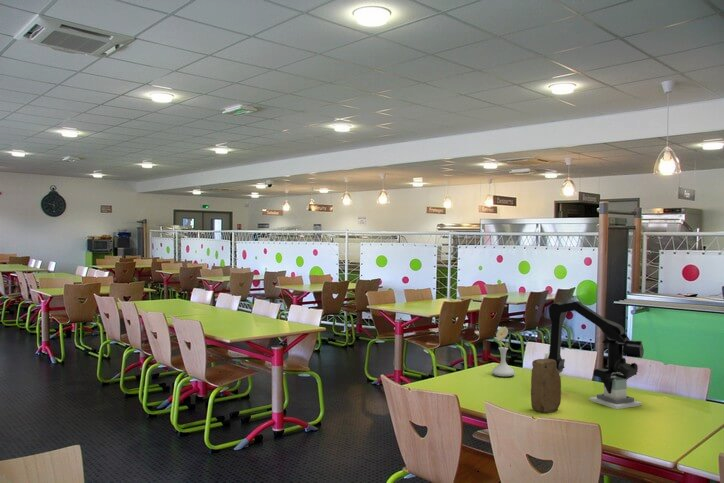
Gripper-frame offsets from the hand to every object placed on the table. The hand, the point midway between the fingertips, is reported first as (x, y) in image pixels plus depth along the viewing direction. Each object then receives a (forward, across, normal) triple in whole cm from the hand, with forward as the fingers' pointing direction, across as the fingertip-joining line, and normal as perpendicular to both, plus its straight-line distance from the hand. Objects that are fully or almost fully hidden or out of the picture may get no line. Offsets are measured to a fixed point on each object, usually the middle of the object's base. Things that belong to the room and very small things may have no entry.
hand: (615, 392), depth 230 cm
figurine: (+4, +10, +47) cm, 48 cm away
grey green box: (+2, 0, 0) cm, 2 cm away
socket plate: (+4, 0, 0) cm, 4 cm away
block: (+4, -34, +3) cm, 34 cm away
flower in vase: (+4, -12, +57) cm, 58 cm away
